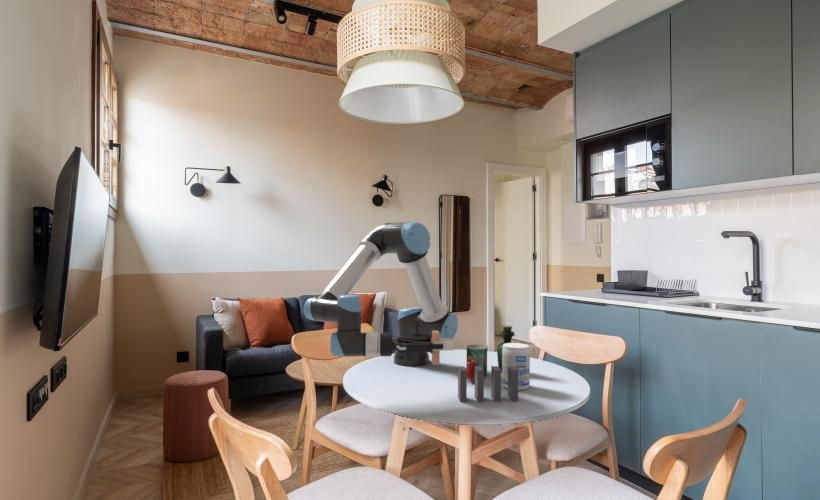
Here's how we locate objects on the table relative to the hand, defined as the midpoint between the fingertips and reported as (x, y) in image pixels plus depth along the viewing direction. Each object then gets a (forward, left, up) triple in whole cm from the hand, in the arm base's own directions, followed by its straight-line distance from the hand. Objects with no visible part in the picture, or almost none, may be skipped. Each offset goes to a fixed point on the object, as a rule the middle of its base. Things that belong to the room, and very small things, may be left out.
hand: (451, 344), depth 150 cm
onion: (-19, +10, -18) cm, 28 cm away
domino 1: (0, +3, -18) cm, 18 cm away
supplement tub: (-13, +24, -18) cm, 33 cm away
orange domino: (0, -5, -6) cm, 8 cm away
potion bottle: (-33, +26, -18) cm, 46 cm away
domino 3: (0, +14, -18) cm, 23 cm away
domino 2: (0, +9, -18) cm, 20 cm away
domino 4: (0, +20, -18) cm, 27 cm away
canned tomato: (-28, +13, -18) cm, 36 cm away
